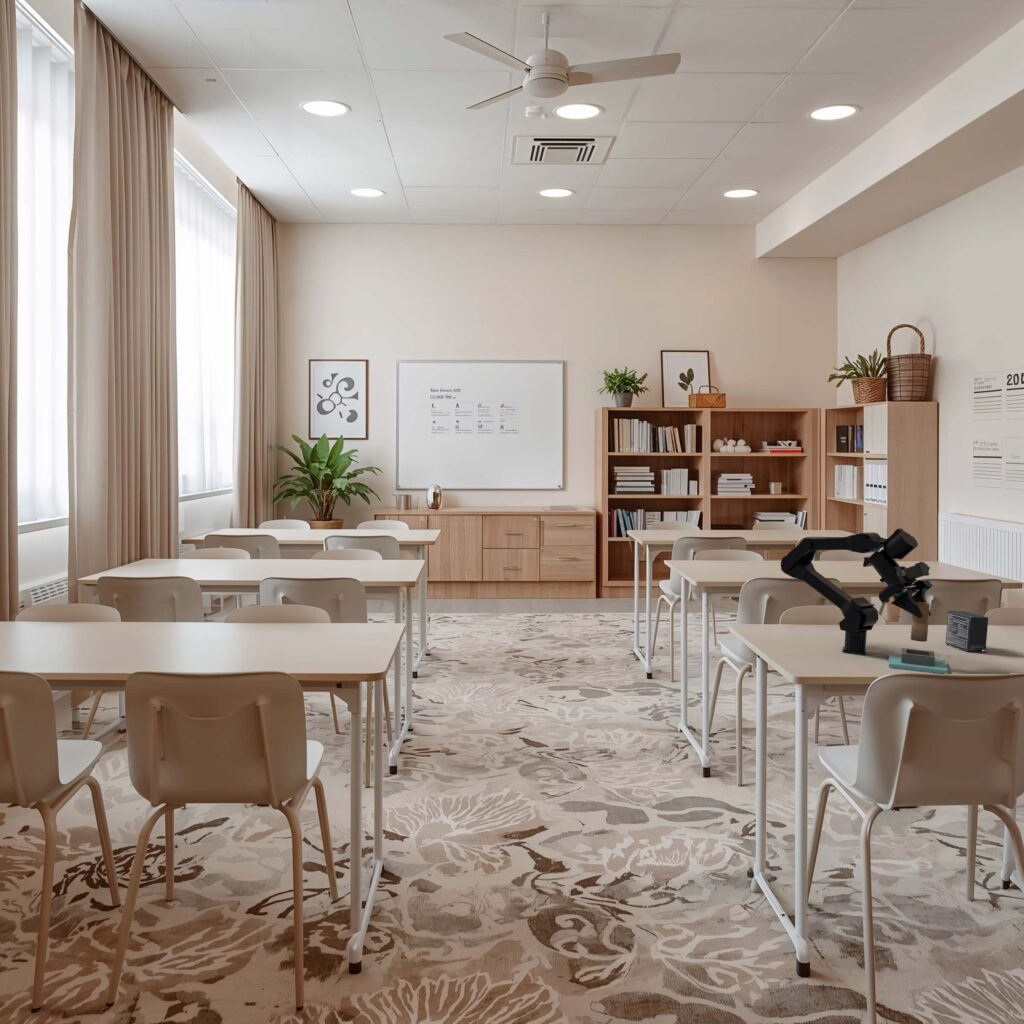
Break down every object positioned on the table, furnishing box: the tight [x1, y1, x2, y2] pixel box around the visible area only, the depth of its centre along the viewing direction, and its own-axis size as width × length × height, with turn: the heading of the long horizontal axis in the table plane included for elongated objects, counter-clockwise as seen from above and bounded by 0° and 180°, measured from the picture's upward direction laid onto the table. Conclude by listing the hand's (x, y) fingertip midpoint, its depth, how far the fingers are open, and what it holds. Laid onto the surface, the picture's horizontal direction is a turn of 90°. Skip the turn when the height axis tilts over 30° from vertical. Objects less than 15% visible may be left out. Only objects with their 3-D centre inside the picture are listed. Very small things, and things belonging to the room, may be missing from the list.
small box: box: [944, 610, 989, 652], centre depth 265 cm, size 11×6×10 cm, turn 9°
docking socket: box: [888, 647, 949, 674], centre depth 241 cm, size 14×14×4 cm
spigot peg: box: [910, 602, 931, 643], centre depth 240 cm, size 4×4×10 cm
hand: (925, 616), depth 239 cm, fingers closed on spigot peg, 4 cm apart
